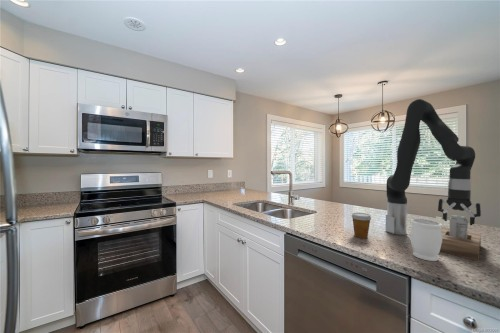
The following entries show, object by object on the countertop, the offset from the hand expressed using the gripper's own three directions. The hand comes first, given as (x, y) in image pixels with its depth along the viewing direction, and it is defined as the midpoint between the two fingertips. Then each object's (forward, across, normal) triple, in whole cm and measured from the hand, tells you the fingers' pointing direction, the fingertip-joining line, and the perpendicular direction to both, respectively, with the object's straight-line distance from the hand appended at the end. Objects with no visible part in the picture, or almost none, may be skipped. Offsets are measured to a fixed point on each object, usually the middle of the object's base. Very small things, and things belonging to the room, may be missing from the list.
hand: (457, 222), depth 100 cm
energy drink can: (+12, 0, -1) cm, 12 cm away
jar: (+12, +8, +24) cm, 28 cm away
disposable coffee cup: (+12, +36, +19) cm, 42 cm away
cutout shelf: (+12, 0, 0) cm, 12 cm away
